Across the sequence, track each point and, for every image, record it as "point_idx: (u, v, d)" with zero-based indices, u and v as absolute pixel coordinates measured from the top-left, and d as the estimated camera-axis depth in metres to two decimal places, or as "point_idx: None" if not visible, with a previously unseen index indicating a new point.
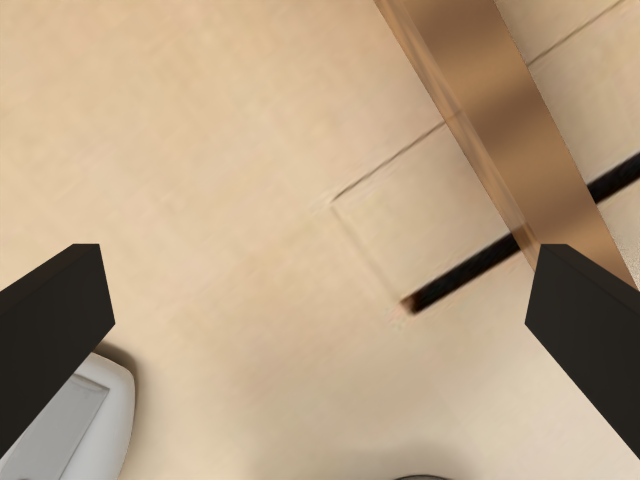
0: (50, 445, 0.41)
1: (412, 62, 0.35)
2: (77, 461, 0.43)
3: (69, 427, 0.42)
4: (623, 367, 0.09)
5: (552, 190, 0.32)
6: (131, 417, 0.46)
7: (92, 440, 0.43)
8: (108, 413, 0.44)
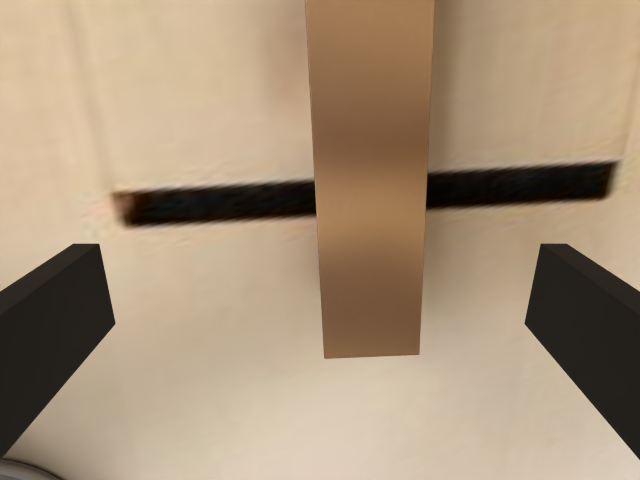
0: None
1: None
2: None
3: None
4: (624, 367, 0.09)
5: (375, 80, 0.17)
6: None
7: None
8: None
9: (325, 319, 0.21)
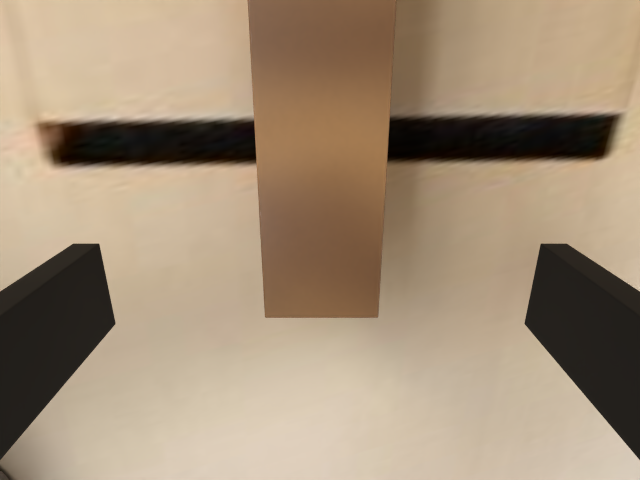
0: None
1: None
2: None
3: None
4: (623, 367, 0.09)
5: None
6: None
7: None
8: None
9: (265, 268, 0.17)
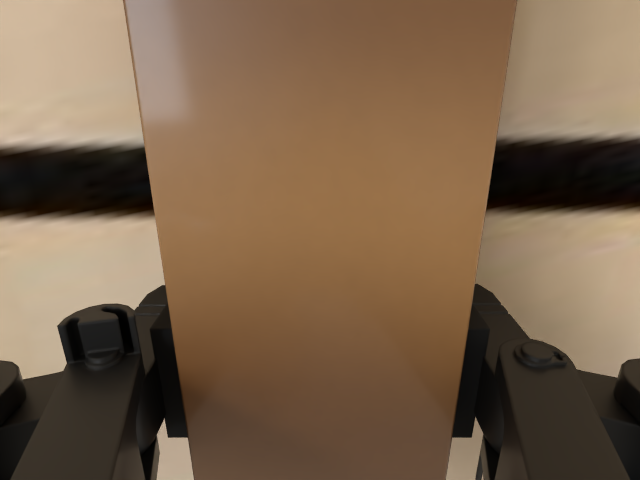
0: None
1: None
2: None
3: None
4: None
5: None
6: None
7: None
8: None
9: (200, 478, 0.08)
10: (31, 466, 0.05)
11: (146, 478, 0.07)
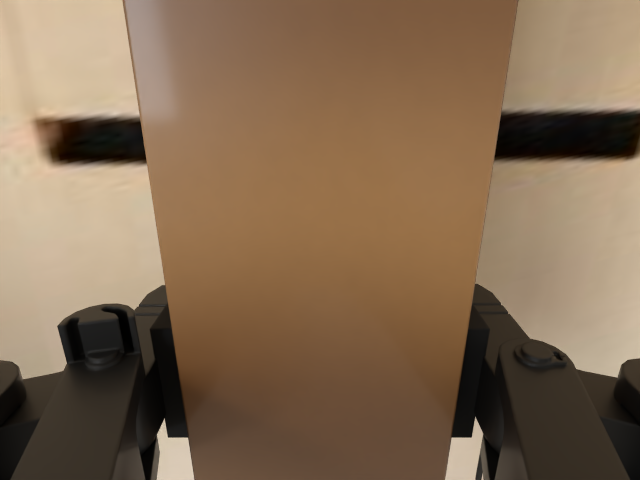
0: None
1: None
2: None
3: None
4: None
5: None
6: None
7: None
8: None
9: (200, 477, 0.08)
10: (31, 466, 0.05)
11: (146, 478, 0.07)
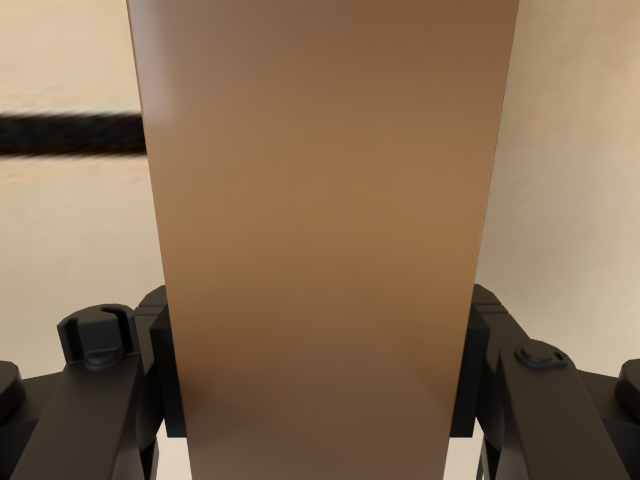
0: None
1: None
2: None
3: None
4: None
5: None
6: None
7: None
8: None
9: (198, 476, 0.08)
10: (30, 466, 0.05)
11: (145, 478, 0.07)
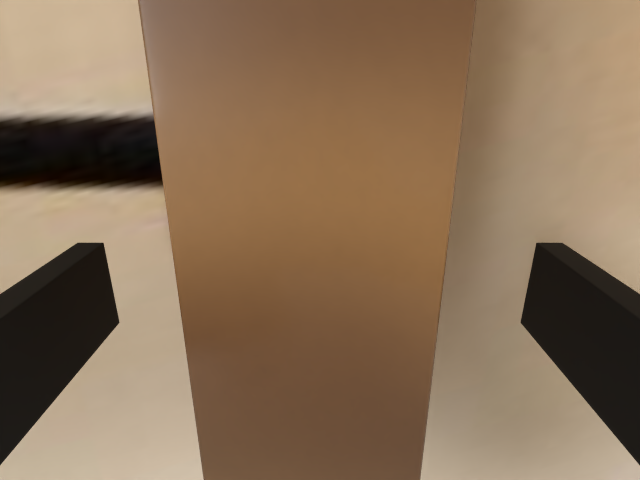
0: None
1: None
2: None
3: None
4: (617, 364, 0.09)
5: None
6: None
7: None
8: None
9: (203, 435, 0.09)
10: None
11: None
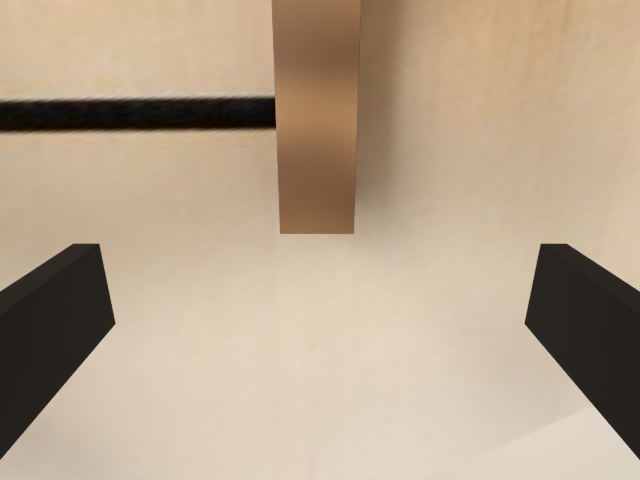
0: None
1: None
2: None
3: None
4: (624, 367, 0.09)
5: (319, 6, 0.23)
6: None
7: None
8: None
9: (281, 199, 0.27)
10: None
11: None
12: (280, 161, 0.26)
